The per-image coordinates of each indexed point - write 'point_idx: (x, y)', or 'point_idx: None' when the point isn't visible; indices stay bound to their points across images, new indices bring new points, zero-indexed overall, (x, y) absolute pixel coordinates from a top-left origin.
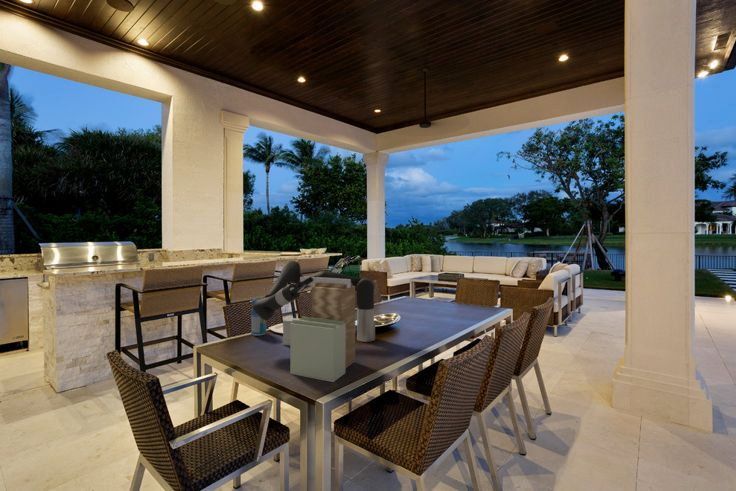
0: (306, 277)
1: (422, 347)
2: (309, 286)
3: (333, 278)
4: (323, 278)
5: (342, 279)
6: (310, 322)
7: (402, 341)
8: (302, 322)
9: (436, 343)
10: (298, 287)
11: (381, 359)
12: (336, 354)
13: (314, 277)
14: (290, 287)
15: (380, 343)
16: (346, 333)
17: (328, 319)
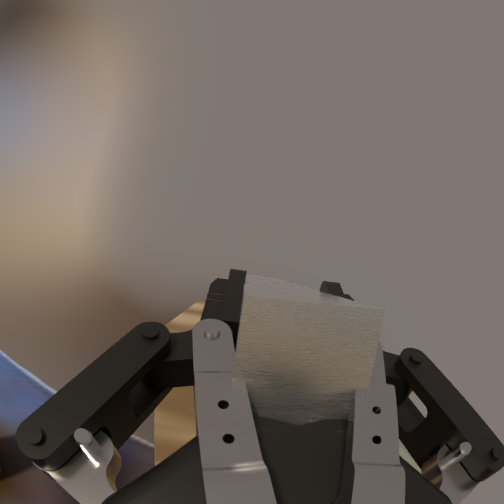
0: (334, 296)
1: None
2: (132, 432)
3: (257, 277)
4: (290, 283)
5: (269, 277)
6: (400, 449)
7: (16, 416)
8: (416, 469)
9: (43, 385)
10: (419, 415)
11: (147, 469)
12: None
13: (278, 285)
14: (492, 449)
15: (19, 451)
16: None
17: None
